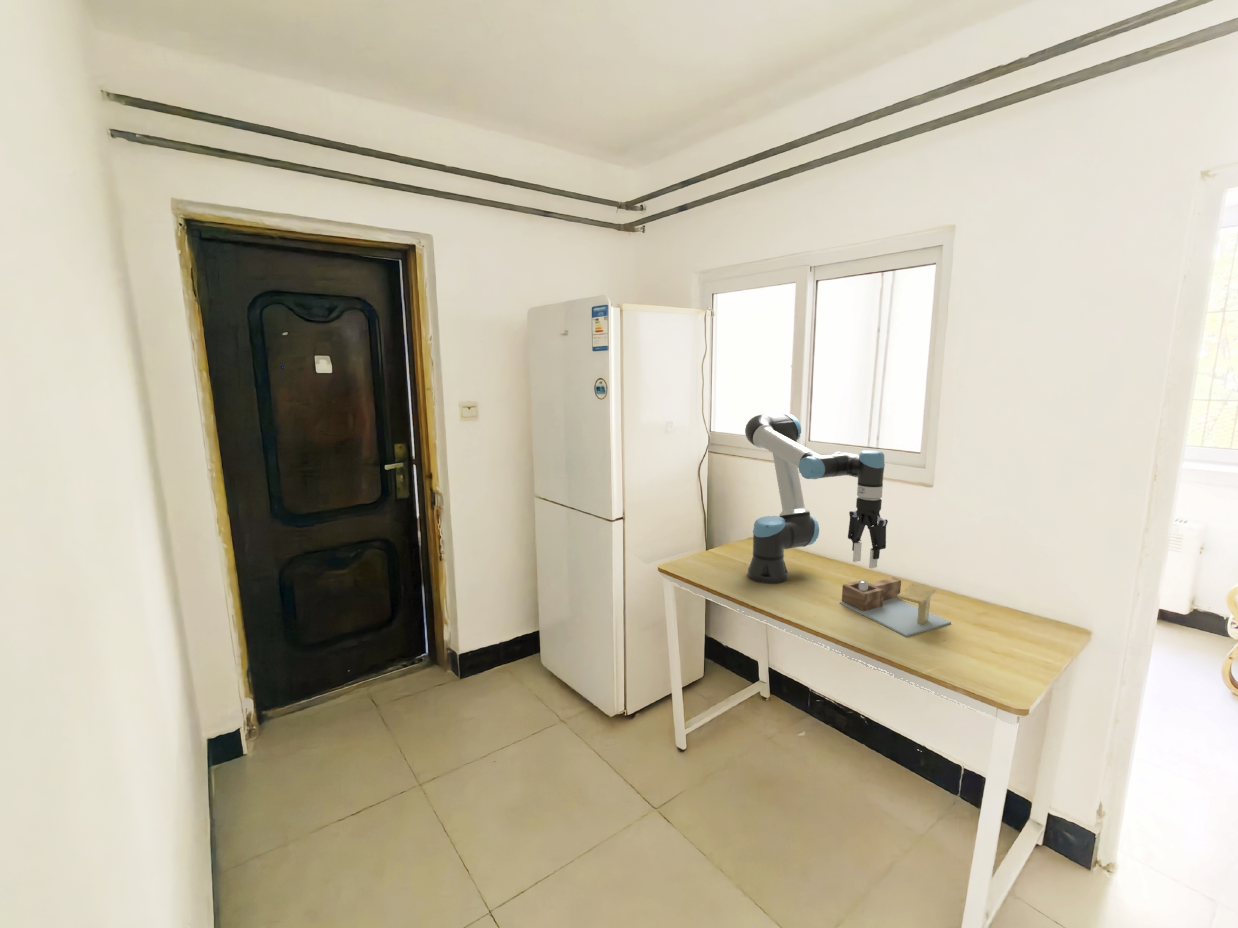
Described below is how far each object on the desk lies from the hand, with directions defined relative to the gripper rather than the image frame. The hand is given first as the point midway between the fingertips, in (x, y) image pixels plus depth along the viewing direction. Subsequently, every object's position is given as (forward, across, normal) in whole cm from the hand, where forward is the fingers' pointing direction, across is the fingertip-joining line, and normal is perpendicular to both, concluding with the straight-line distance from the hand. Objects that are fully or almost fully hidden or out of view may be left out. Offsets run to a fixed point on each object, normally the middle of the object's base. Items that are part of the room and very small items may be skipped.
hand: (864, 564), depth 179 cm
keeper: (+15, +16, +6) cm, 22 cm away
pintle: (+15, 0, 0) cm, 15 cm away
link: (+14, 0, +6) cm, 16 cm away
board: (+15, +8, +4) cm, 18 cm away
